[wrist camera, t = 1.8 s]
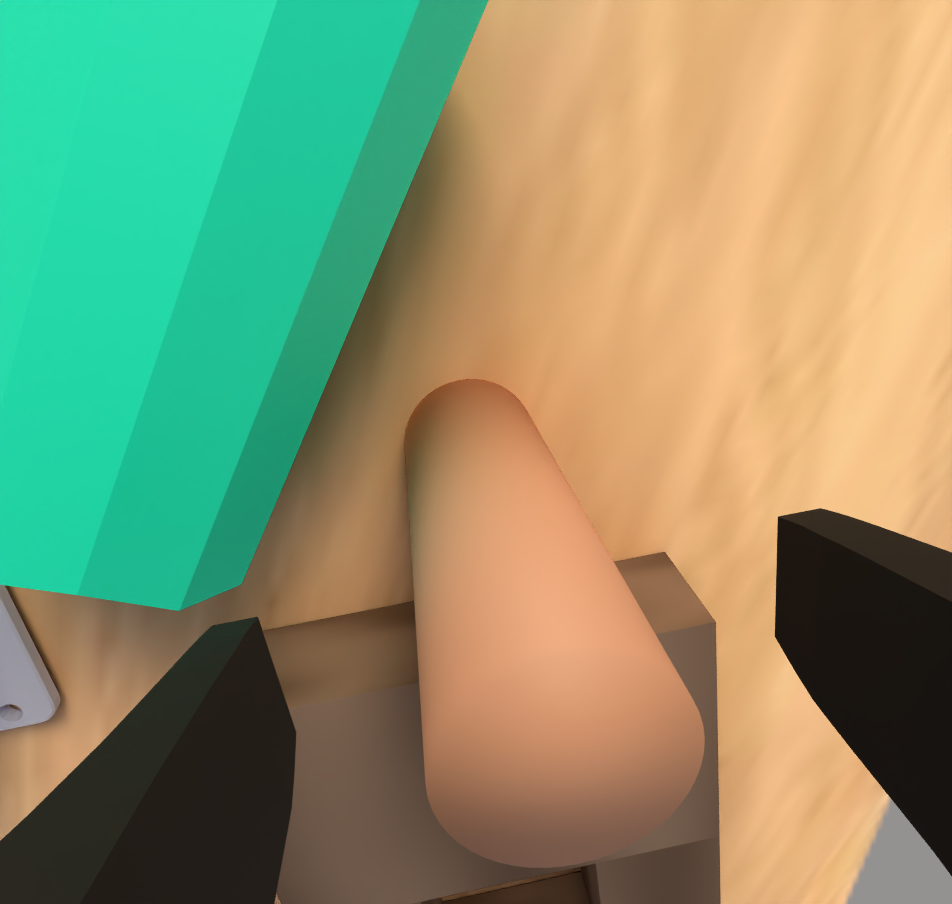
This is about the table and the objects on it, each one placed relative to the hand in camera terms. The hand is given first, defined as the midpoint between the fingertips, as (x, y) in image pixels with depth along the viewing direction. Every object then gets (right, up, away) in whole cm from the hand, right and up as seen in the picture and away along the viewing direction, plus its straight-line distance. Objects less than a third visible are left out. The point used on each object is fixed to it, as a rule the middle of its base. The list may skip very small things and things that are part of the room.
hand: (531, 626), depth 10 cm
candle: (-3, +10, 0) cm, 11 cm away
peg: (-1, +3, +7) cm, 7 cm away
